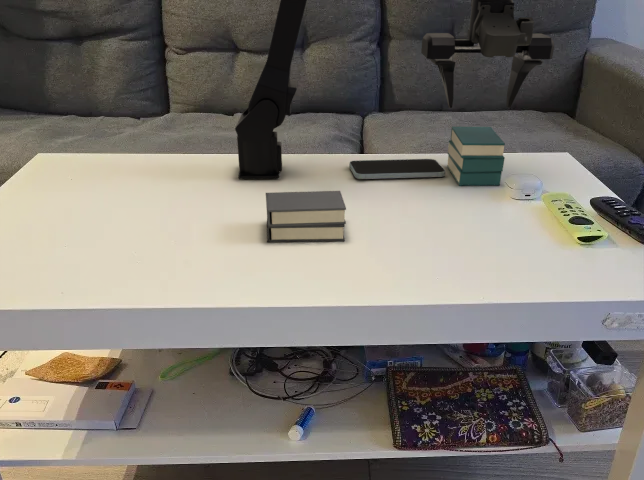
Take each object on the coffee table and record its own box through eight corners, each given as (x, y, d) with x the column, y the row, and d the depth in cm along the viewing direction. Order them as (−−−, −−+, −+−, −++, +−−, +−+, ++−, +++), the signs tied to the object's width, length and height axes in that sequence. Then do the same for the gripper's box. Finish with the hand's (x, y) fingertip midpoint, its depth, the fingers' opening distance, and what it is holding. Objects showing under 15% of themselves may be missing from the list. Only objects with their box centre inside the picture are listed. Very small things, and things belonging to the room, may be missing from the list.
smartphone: (447, 172, 108) (356, 174, 106) (446, 177, 109) (356, 180, 107) (434, 158, 114) (348, 160, 112) (433, 163, 115) (348, 166, 113)
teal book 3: (499, 185, 106) (501, 171, 105) (459, 185, 106) (460, 172, 104) (484, 166, 114) (486, 153, 113) (446, 166, 114) (448, 153, 112)
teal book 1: (450, 140, 111) (451, 126, 110) (488, 140, 111) (490, 126, 110) (461, 157, 103) (462, 143, 102) (502, 158, 103) (504, 143, 102)
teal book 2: (502, 171, 105) (504, 157, 104) (462, 172, 104) (463, 158, 103) (484, 153, 113) (486, 139, 112) (447, 153, 112) (448, 140, 111)
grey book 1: (267, 226, 85) (267, 210, 84) (266, 208, 90) (265, 192, 89) (345, 224, 86) (346, 207, 85) (339, 206, 91) (340, 190, 90)
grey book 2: (267, 242, 86) (266, 226, 85) (268, 223, 92) (267, 207, 90) (344, 241, 87) (344, 225, 86) (341, 222, 92) (341, 207, 91)
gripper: (439, -3, 88) (429, 120, 97) (577, -2, 89) (554, 119, 98) (425, -10, 97) (416, 103, 106) (550, -10, 98) (532, 102, 107)
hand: (479, 107), depth 104 cm, fingers open, 9 cm apart
